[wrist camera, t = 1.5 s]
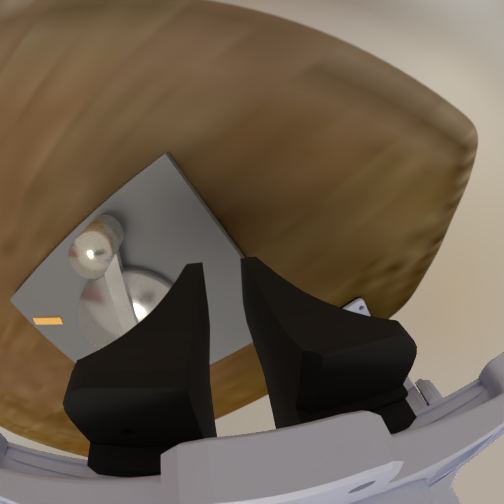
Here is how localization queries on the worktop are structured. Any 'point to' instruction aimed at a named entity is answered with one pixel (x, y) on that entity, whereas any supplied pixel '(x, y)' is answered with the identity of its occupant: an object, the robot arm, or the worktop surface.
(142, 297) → the dial
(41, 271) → the dial plate
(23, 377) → the worktop surface
